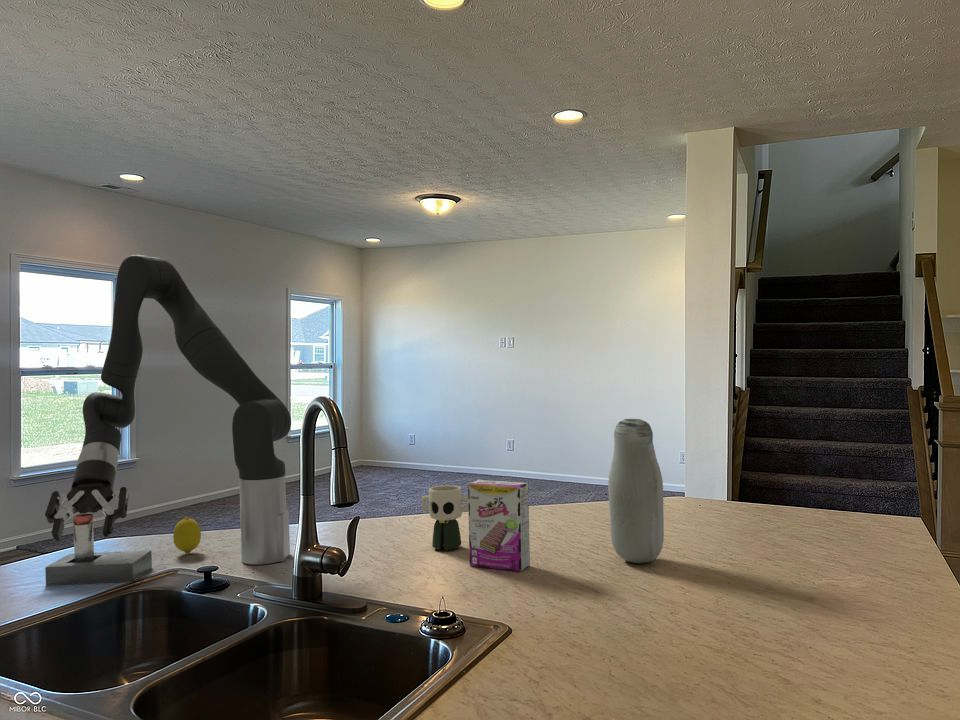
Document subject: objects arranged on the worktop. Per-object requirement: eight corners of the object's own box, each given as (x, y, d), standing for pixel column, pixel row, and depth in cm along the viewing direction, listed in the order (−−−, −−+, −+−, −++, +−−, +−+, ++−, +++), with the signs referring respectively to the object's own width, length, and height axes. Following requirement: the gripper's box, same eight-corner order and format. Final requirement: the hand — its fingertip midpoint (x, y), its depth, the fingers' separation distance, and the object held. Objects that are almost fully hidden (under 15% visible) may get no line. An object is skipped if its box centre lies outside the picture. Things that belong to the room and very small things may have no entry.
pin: (98, 573, 142) (96, 513, 142) (89, 579, 139) (87, 517, 139) (80, 574, 142) (78, 514, 142) (71, 580, 138) (69, 517, 138)
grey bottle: (672, 559, 141) (669, 417, 141) (646, 572, 134) (642, 422, 133) (629, 551, 148) (625, 415, 148) (601, 562, 140) (597, 419, 140)
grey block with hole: (151, 567, 146) (151, 550, 146) (133, 581, 136) (132, 563, 136) (70, 571, 144) (69, 553, 144) (45, 585, 135) (45, 567, 135)
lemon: (191, 557, 152) (190, 520, 152) (168, 557, 153) (167, 519, 153) (206, 550, 157) (205, 514, 157) (184, 550, 158) (183, 513, 158)
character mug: (417, 551, 152) (415, 490, 152) (428, 542, 159) (426, 484, 159) (466, 554, 149) (464, 491, 149) (475, 545, 156) (474, 485, 156)
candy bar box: (468, 567, 140) (466, 483, 140) (479, 560, 144) (477, 478, 144) (521, 573, 135) (519, 486, 135) (531, 565, 140) (529, 481, 140)
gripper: (53, 460, 146) (35, 529, 135) (130, 456, 149) (117, 523, 138) (63, 482, 151) (45, 550, 140) (136, 477, 154) (125, 544, 143)
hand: (81, 536), depth 139 cm, fingers open, 8 cm apart
